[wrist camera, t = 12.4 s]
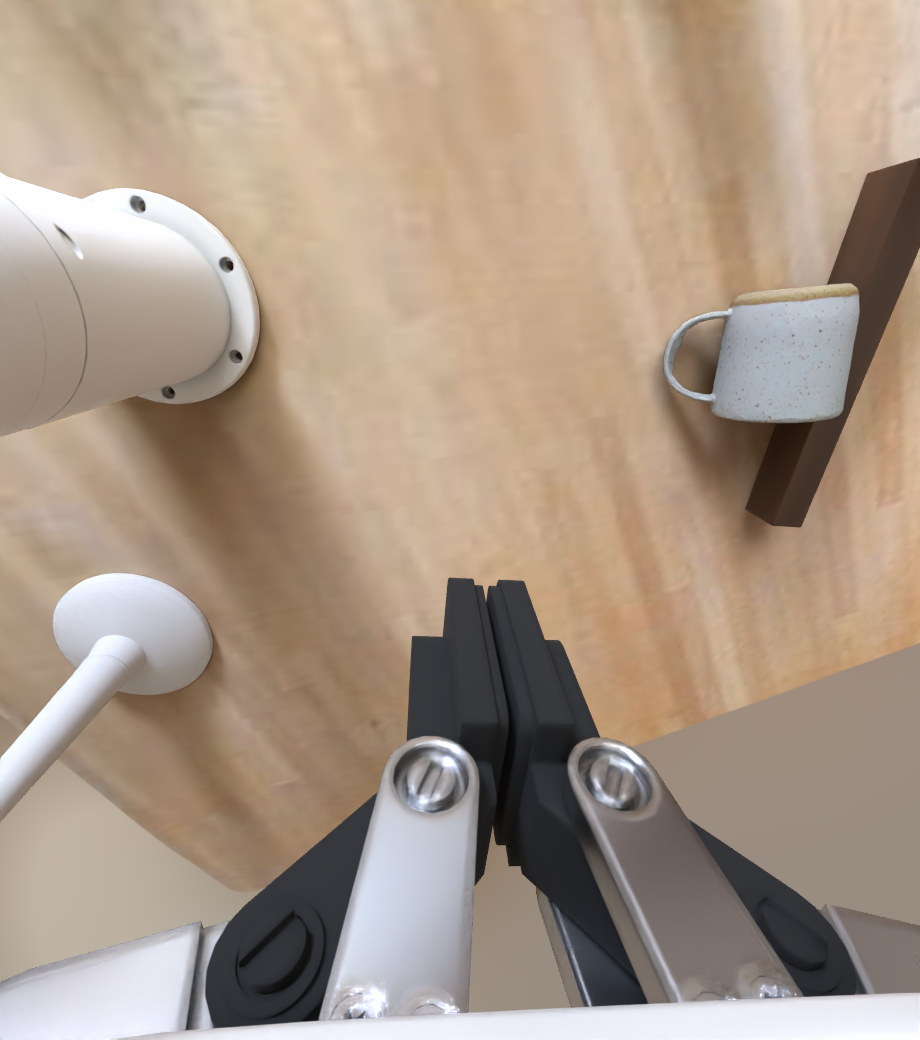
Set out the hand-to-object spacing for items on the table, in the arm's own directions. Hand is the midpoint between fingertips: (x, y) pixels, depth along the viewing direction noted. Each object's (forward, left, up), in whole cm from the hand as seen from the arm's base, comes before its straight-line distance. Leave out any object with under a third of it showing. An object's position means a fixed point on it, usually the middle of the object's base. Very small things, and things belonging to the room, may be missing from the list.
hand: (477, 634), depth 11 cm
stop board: (+22, +19, -27) cm, 39 cm away
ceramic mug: (+16, +15, -27) cm, 35 cm away
